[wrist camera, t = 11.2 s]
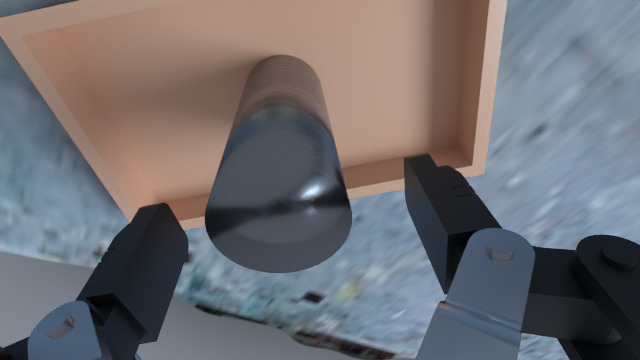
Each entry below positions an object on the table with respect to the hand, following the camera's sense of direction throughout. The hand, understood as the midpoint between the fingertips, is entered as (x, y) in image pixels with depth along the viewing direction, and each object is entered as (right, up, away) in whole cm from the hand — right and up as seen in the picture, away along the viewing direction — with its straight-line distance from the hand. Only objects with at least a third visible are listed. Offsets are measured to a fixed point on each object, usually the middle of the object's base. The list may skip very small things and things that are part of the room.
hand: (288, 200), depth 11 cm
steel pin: (-1, +6, +8) cm, 10 cm away
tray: (-1, +6, +8) cm, 10 cm away
